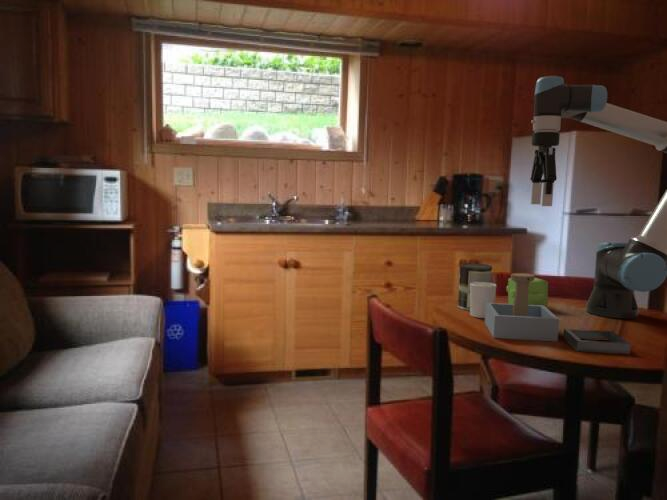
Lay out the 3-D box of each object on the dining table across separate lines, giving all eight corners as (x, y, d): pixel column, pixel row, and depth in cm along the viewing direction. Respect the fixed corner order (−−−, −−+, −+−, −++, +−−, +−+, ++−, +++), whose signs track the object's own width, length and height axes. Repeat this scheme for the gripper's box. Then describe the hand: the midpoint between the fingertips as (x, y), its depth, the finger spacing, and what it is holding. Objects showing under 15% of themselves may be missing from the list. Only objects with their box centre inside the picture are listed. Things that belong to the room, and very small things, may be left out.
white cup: (491, 313, 179) (493, 282, 177) (496, 319, 171) (498, 286, 170) (466, 312, 179) (468, 281, 178) (470, 318, 172) (471, 285, 170)
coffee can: (451, 307, 185) (454, 265, 184) (466, 302, 193) (468, 262, 192) (481, 313, 179) (483, 269, 177) (494, 307, 187) (497, 265, 185)
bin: (542, 325, 165) (543, 305, 164) (557, 341, 148) (559, 319, 148) (484, 322, 167) (485, 302, 166) (493, 337, 150) (494, 315, 150)
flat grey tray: (611, 340, 151) (612, 331, 151) (629, 354, 139) (630, 344, 139) (563, 337, 152) (563, 328, 152) (577, 351, 140) (578, 341, 140)
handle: (534, 329, 156) (538, 275, 154) (515, 331, 154) (518, 276, 152) (523, 325, 161) (526, 273, 159) (504, 326, 159) (507, 273, 157)
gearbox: (496, 302, 199) (497, 275, 198) (521, 300, 201) (522, 273, 200) (525, 313, 181) (526, 283, 180) (552, 310, 184) (553, 281, 182)
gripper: (523, 135, 177) (519, 203, 180) (543, 127, 153) (537, 206, 155) (548, 135, 176) (543, 203, 179) (572, 128, 152) (566, 207, 154)
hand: (540, 205), depth 167 cm, fingers open, 13 cm apart
